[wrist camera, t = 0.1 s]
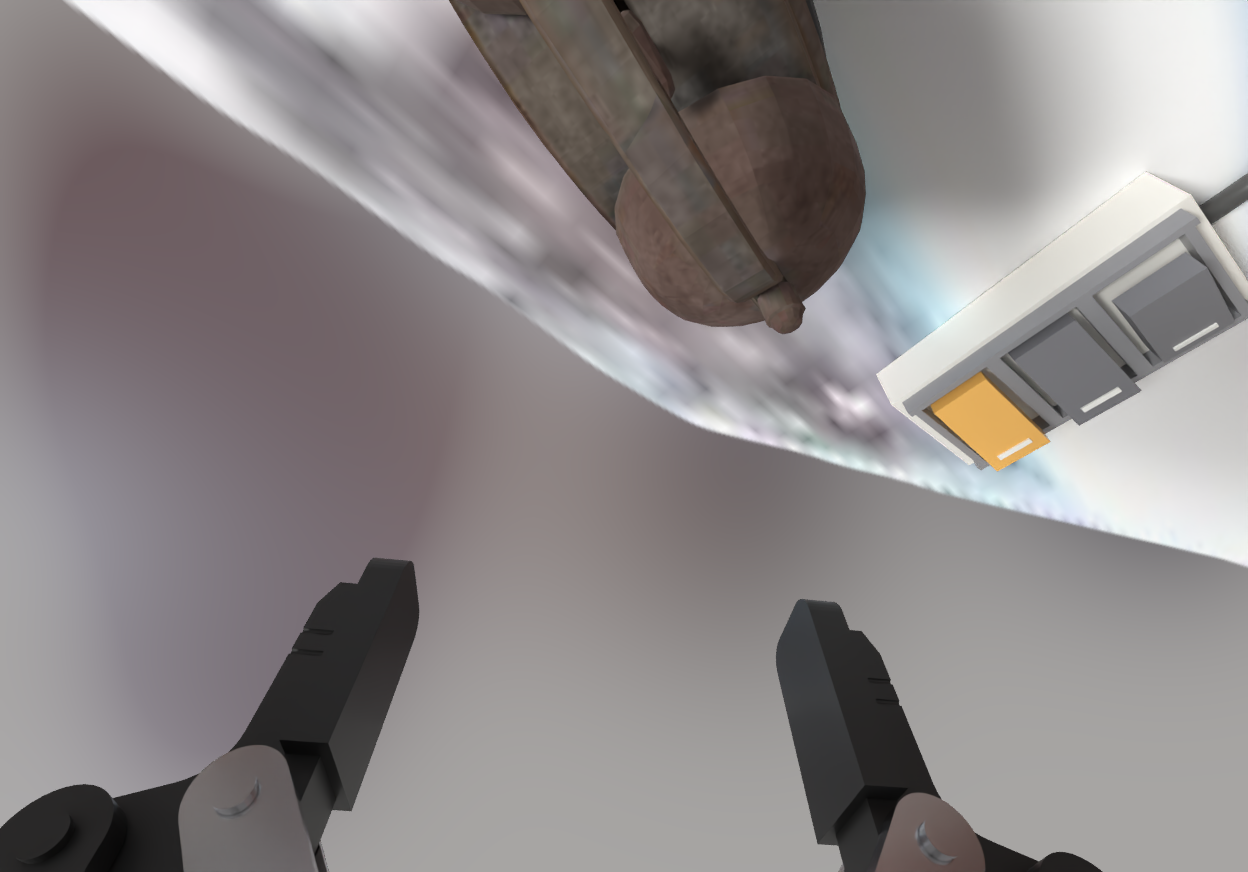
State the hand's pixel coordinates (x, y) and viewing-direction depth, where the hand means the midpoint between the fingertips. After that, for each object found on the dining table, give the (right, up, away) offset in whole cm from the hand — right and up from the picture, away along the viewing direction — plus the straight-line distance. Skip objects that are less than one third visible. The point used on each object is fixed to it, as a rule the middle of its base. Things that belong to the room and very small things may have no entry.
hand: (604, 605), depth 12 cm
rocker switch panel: (+26, +12, +18) cm, 34 cm away
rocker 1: (+21, +5, +20) cm, 29 cm away
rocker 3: (+26, +10, +15) cm, 32 cm away
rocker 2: (+24, +7, +18) cm, 30 cm away
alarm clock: (+1, +22, +11) cm, 24 cm away
